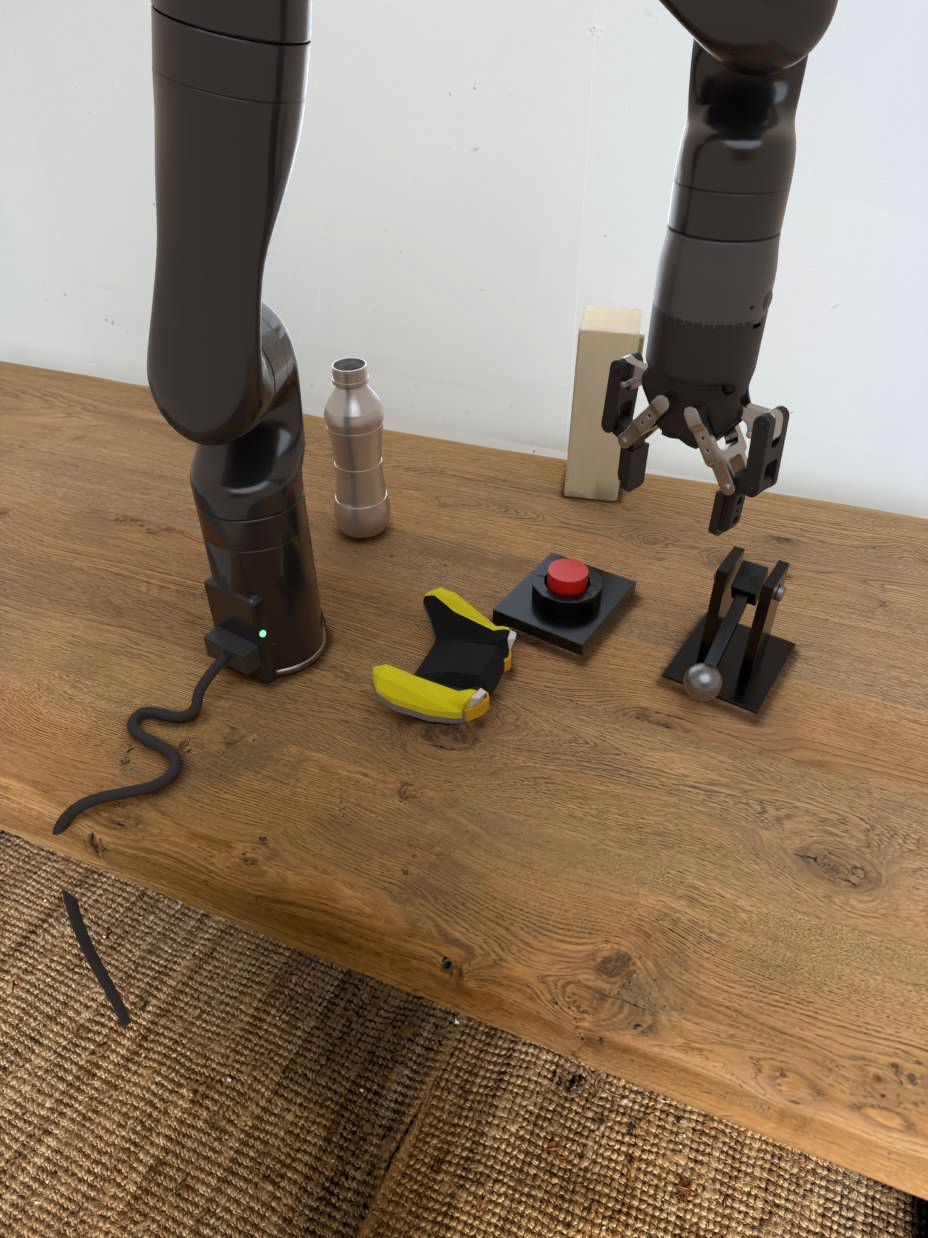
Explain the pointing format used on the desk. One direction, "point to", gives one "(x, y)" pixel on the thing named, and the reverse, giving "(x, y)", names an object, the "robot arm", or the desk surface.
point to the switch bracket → (739, 639)
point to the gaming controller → (450, 665)
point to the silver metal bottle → (357, 450)
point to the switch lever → (725, 632)
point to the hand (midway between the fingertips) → (674, 508)
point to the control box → (564, 607)
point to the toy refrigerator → (597, 400)
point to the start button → (567, 576)
